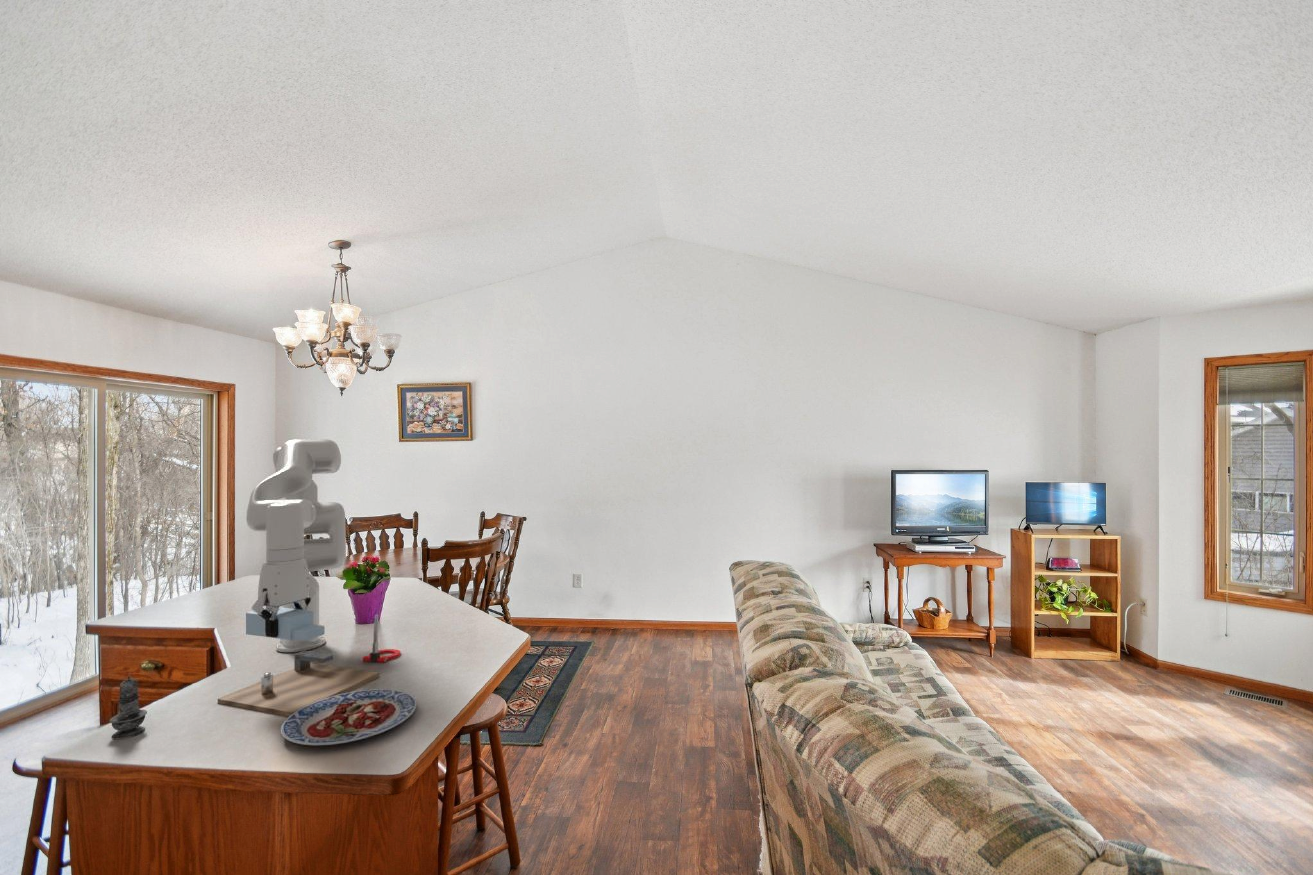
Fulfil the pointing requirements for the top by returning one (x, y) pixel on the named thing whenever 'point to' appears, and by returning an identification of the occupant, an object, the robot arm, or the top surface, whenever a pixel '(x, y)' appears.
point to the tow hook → (376, 653)
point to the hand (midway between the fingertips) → (285, 631)
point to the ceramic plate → (348, 717)
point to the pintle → (267, 684)
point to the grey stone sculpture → (128, 711)
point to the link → (286, 624)
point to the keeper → (309, 659)
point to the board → (299, 689)
